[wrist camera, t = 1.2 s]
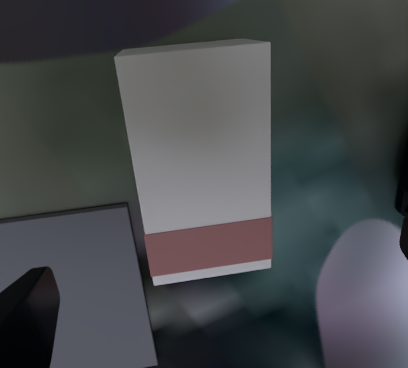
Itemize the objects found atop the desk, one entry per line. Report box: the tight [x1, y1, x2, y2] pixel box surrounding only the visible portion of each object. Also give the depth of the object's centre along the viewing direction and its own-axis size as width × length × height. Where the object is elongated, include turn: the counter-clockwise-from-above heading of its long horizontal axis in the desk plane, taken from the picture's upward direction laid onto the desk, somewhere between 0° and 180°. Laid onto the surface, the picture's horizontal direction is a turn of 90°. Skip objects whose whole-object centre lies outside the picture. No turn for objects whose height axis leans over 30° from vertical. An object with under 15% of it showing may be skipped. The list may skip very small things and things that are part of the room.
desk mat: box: [0, 203, 158, 368], centre depth 19 cm, size 13×11×1 cm
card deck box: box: [114, 38, 272, 286], centre depth 15 cm, size 5×9×4 cm, turn 4°
